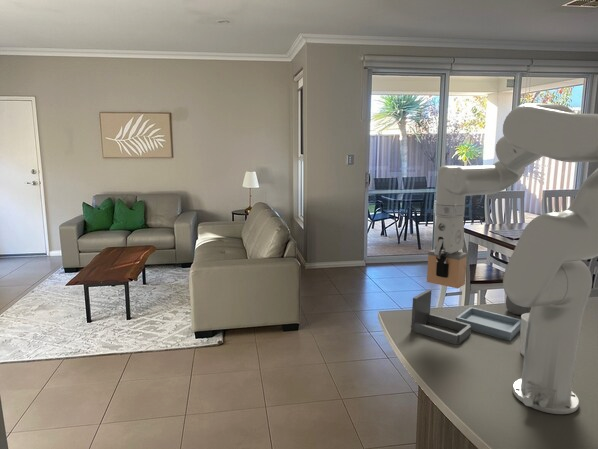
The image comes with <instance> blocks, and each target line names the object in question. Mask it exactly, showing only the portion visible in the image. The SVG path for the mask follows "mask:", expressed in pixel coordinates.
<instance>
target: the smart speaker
mask: <svg viewBox="0 0 598 449" xmlns="http://www.w3.org/2000/svg"><path fill="white" fill-rule="evenodd" d="M505 306H506V307H505V308H506V310H507V311H508V312H509V313H511V314H512V315H514V316H517V315H518V317H521V315H522V314H525V313H530V311H531V308H532V307H522V306H518V305H516V304H514V303H513V302H512V301H510V300H509V298H508V297H507V296H506V297H505Z"/></svg>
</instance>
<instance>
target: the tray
mask: <svg viewBox="0 0 598 449" xmlns="http://www.w3.org/2000/svg"><path fill="white" fill-rule="evenodd" d="M455 320H456V321H459V322H463V323H467V324H470V325H471V331H474V332H478V333H481V334H483V335H487V336H492V337H495V338H498V339H501V340H506V341H512V340H513V339H514V337H515V336H516V335H517V334H518V333H519V332H520V329H521V318H515V317H513V316H508V315H505V314H501V313H496V312H492V311H488V310H485V309H480V308H477V307H476V308H475V307H472V306H469V308H466V310H464V311H463V312H462V313H460V314H459V315H457V316H455Z"/></svg>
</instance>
